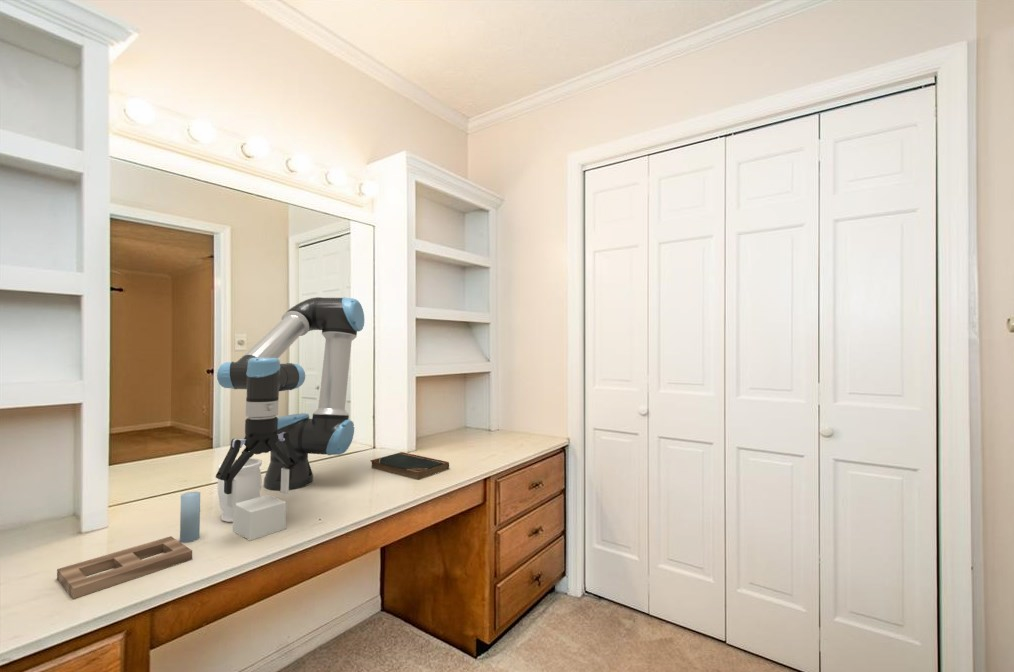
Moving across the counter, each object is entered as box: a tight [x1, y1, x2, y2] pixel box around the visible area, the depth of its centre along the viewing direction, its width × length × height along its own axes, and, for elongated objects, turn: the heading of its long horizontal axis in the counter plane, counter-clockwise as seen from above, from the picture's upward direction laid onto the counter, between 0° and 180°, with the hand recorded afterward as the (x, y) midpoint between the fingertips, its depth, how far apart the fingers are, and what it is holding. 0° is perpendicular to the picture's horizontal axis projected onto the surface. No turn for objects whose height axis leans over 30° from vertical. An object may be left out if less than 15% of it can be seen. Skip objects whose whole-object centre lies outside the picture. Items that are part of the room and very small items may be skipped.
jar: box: [217, 457, 263, 523], centre depth 129 cm, size 11×10×15 cm
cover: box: [232, 494, 287, 541], centre depth 121 cm, size 9×9×7 cm
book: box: [370, 451, 450, 481], centre depth 179 cm, size 17×4×25 cm
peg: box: [179, 491, 201, 543], centre depth 115 cm, size 4×4×11 cm
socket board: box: [56, 535, 193, 600], centre depth 100 cm, size 12×20×2 cm, turn 145°
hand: (259, 499), depth 121 cm, fingers open, 13 cm apart
